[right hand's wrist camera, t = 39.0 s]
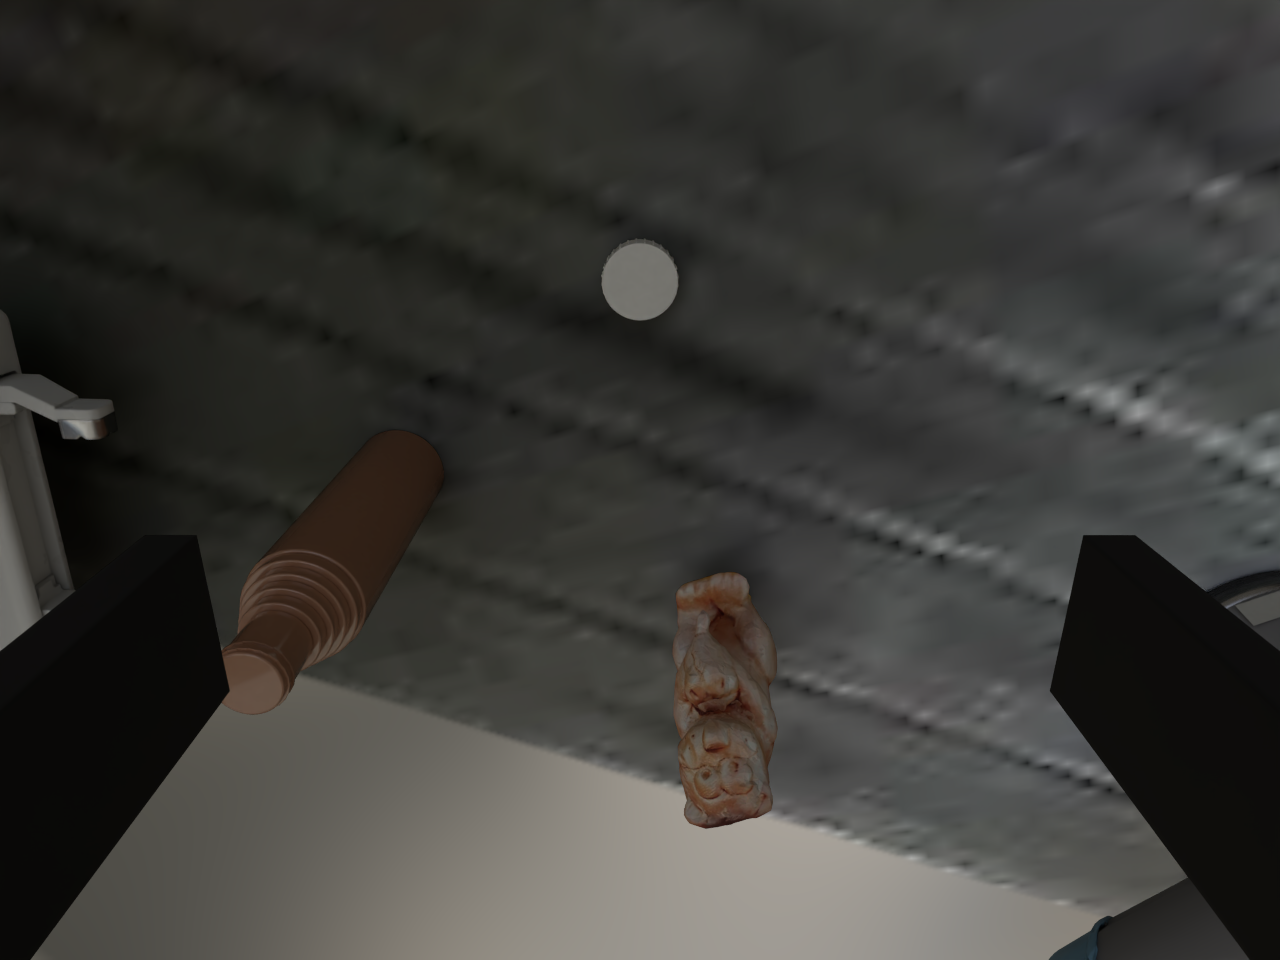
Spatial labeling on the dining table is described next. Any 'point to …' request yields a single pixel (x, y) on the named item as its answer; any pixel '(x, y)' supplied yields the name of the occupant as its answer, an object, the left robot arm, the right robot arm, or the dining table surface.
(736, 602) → the figurine
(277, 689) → the bottle
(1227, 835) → the right robot arm
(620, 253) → the cap
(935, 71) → the dining table surface
